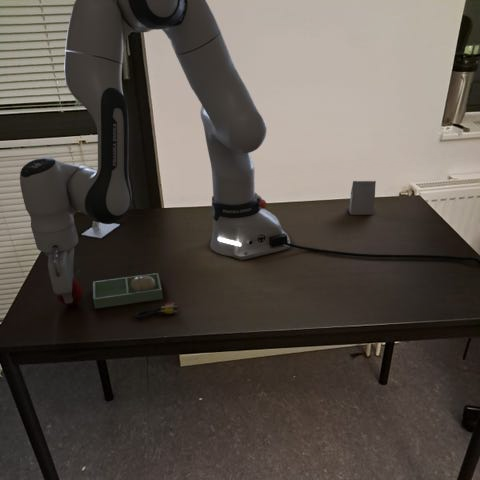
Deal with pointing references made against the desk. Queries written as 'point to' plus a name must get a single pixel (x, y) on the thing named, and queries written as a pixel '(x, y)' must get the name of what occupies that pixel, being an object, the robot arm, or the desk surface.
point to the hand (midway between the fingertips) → (69, 290)
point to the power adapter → (100, 229)
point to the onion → (74, 293)
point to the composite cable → (158, 310)
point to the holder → (123, 292)
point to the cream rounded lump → (143, 284)
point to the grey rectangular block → (362, 198)
